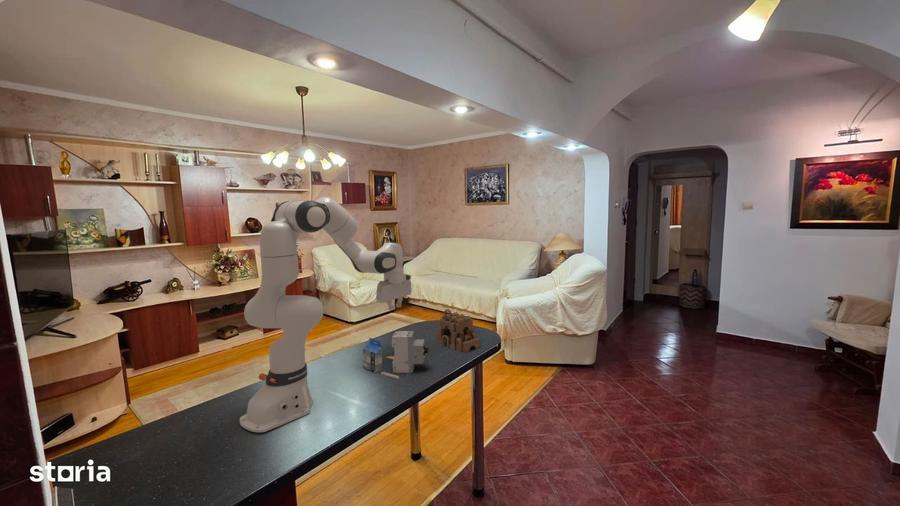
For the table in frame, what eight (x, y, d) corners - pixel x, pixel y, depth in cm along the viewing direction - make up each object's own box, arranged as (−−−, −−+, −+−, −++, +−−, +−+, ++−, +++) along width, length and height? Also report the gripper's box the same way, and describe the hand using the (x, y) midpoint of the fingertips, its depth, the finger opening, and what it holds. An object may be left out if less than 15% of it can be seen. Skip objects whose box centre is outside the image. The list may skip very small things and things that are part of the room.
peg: (397, 379, 139) (397, 377, 139) (380, 374, 144) (380, 372, 144) (399, 378, 140) (399, 375, 140) (382, 373, 145) (382, 370, 145)
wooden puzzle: (482, 346, 173) (482, 309, 171) (460, 354, 164) (459, 314, 162) (453, 335, 190) (452, 301, 188) (431, 342, 180) (430, 306, 179)
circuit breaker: (427, 372, 145) (426, 336, 144) (392, 372, 145) (391, 337, 144) (429, 364, 152) (428, 330, 151) (396, 365, 153) (394, 331, 151)
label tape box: (362, 367, 151) (361, 339, 150) (370, 364, 154) (369, 337, 153) (375, 373, 145) (373, 344, 144) (383, 370, 148) (382, 341, 147)
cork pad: (400, 361, 157) (400, 360, 157) (383, 357, 162) (383, 356, 162) (410, 356, 162) (410, 355, 162) (393, 352, 168) (393, 351, 168)
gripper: (383, 282, 148) (384, 314, 150) (413, 275, 165) (414, 304, 167) (372, 281, 152) (373, 312, 153) (402, 274, 169) (403, 302, 170)
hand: (395, 308), depth 160 cm, fingers open, 4 cm apart
